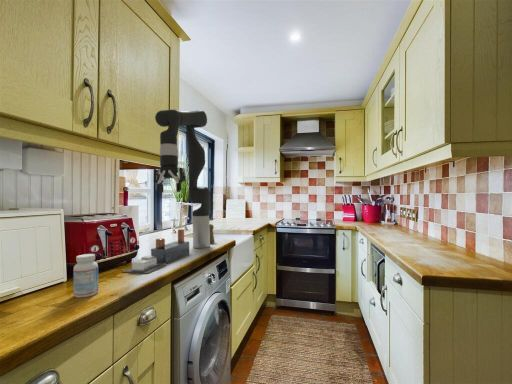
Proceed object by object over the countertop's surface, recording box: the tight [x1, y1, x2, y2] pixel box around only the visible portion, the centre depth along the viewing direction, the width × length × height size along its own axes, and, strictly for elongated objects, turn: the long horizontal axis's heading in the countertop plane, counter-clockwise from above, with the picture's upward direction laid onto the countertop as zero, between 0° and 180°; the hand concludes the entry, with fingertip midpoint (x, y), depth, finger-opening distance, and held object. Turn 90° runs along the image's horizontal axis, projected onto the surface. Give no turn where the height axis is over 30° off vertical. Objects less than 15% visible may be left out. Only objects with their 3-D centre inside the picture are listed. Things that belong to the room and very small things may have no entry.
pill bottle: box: [72, 253, 100, 299], centre depth 78 cm, size 6×6×11 cm
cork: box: [209, 223, 215, 244], centre depth 164 cm, size 6×6×11 cm
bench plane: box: [150, 228, 190, 265], centre depth 123 cm, size 20×7×12 cm, turn 166°
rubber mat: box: [121, 264, 166, 275], centre depth 105 cm, size 11×11×1 cm
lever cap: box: [131, 255, 158, 271], centre depth 105 cm, size 8×5×4 cm, turn 166°
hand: (169, 192), depth 119 cm, fingers open, 8 cm apart
